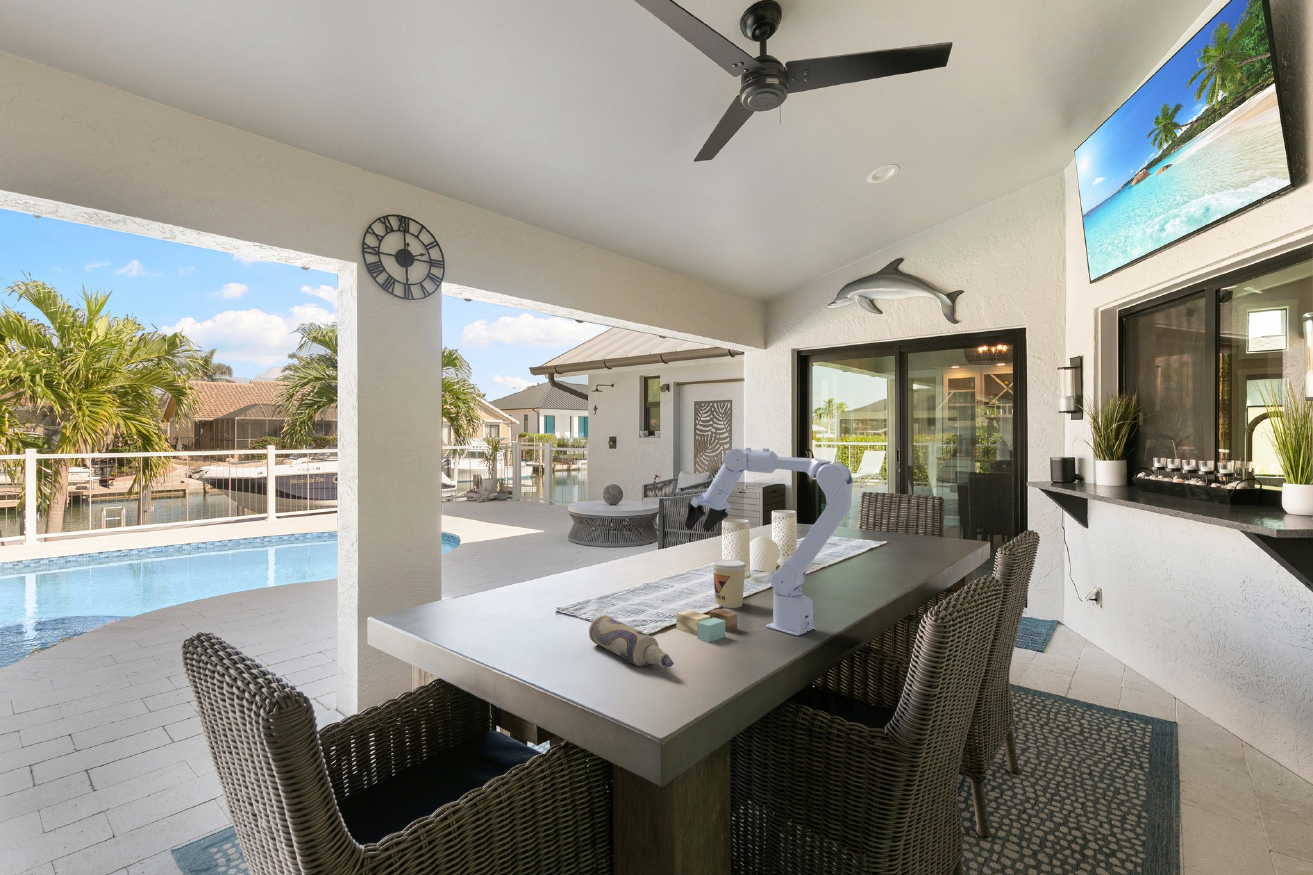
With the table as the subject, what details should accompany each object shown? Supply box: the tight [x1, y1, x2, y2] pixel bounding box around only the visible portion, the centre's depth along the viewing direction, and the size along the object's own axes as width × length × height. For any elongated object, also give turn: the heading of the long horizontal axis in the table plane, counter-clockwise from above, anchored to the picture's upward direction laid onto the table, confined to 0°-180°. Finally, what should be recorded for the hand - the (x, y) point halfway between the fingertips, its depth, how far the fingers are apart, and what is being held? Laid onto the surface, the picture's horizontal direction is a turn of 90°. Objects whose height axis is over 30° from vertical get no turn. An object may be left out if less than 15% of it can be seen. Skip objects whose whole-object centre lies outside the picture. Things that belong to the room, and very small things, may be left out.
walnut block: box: [709, 608, 738, 633], centre depth 150 cm, size 6×4×4 cm, turn 44°
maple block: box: [675, 609, 710, 636], centre depth 148 cm, size 7×4×4 cm, turn 43°
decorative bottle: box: [588, 615, 675, 668], centre depth 128 cm, size 26×8×7 cm, turn 37°
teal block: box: [697, 618, 726, 643], centre depth 143 cm, size 6×4×4 cm, turn 134°
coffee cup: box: [712, 559, 747, 609], centre depth 172 cm, size 9×9×12 cm
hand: (696, 528), depth 164 cm, fingers open, 7 cm apart
